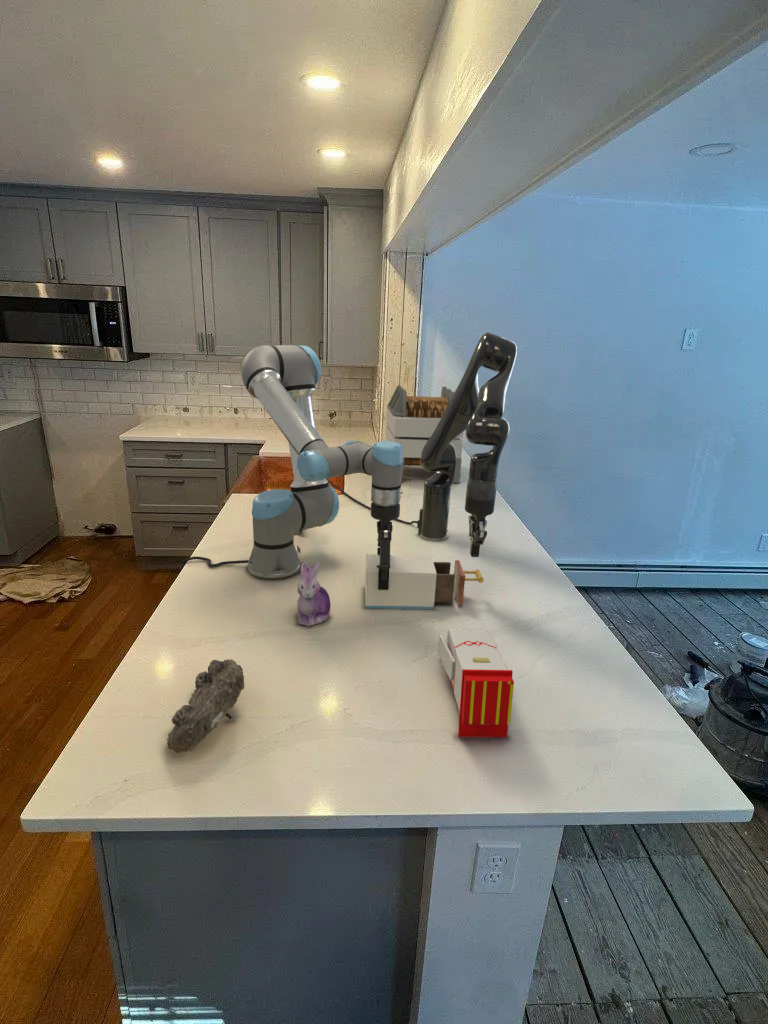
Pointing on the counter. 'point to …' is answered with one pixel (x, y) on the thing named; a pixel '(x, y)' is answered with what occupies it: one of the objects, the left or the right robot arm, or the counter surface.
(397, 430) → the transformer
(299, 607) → the figurine
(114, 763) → the counter surface
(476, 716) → the toy
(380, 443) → the left robot arm
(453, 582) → the drawer
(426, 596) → the cabinet
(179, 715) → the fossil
